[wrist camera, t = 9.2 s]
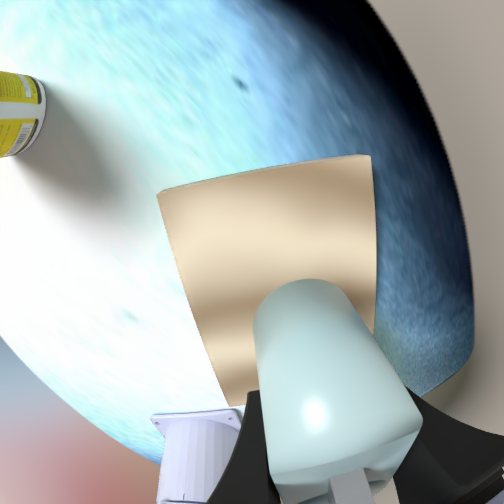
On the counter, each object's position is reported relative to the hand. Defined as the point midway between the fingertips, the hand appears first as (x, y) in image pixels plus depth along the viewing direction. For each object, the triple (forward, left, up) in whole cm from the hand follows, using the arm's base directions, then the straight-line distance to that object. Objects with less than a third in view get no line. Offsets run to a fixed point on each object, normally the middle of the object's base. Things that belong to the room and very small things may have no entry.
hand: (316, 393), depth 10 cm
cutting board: (0, 0, -8) cm, 8 cm away
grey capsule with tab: (0, 0, -2) cm, 2 cm away
